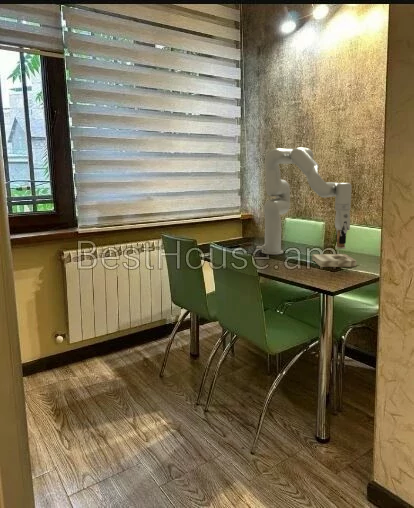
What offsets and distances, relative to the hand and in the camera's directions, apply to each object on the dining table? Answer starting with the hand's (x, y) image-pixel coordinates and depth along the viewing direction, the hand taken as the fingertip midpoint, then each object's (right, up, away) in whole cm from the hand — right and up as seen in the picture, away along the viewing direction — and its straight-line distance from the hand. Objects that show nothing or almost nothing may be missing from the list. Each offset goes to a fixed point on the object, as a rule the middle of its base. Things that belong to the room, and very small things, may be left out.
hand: (340, 242), depth 212 cm
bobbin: (0, -3, +1) cm, 3 cm away
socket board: (-3, -11, +2) cm, 11 cm away
